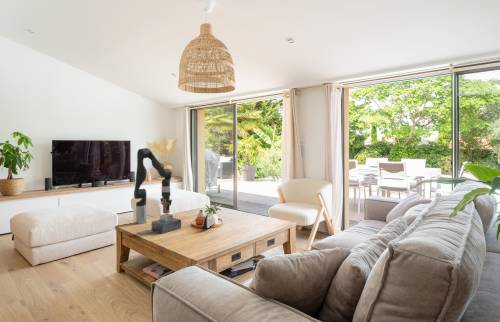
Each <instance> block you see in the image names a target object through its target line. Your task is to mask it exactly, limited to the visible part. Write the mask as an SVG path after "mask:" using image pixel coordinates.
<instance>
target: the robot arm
mask: <svg viewBox="0 0 500 322" xmlns="http://www.w3.org/2000/svg"><path fill="white" fill-rule="evenodd" d="M136 156H137V157H136V160H137V161H136V162H137V163H136V165H137V166H136V174H135V186H134V191H133V198H134V199H135V200H139V199H140V200H139V201H137V202H135V223H136V224H139V225H141V224H146V223H147V190H146V188H141V186H142V185H143V183H144V182H145V181H146V178H147V173H148V171H147V167H146V166H145V164H144V159H149V160H150V161H151V165H152V167H153V168H154V169H155V170H156V171H157V173H158V175H159V176H160V177H162V178H164V179H162V180H161V198H159V199H160V204H161V206H163V202H166V205H167V211H168V210H170V206H171V205H172V201H173V199H171V198H170V197H171V178H172V174H173V173H172V170H171V169H170V168H165V166H164V164H163V163H161V162H160V160H158V159H157V158H156V156H155V154H154V153H153V152H152V151H151V149H150V148H147V147H143V148H139V149H138V150H137V155H136ZM167 202H168V203H167Z"/></svg>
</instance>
